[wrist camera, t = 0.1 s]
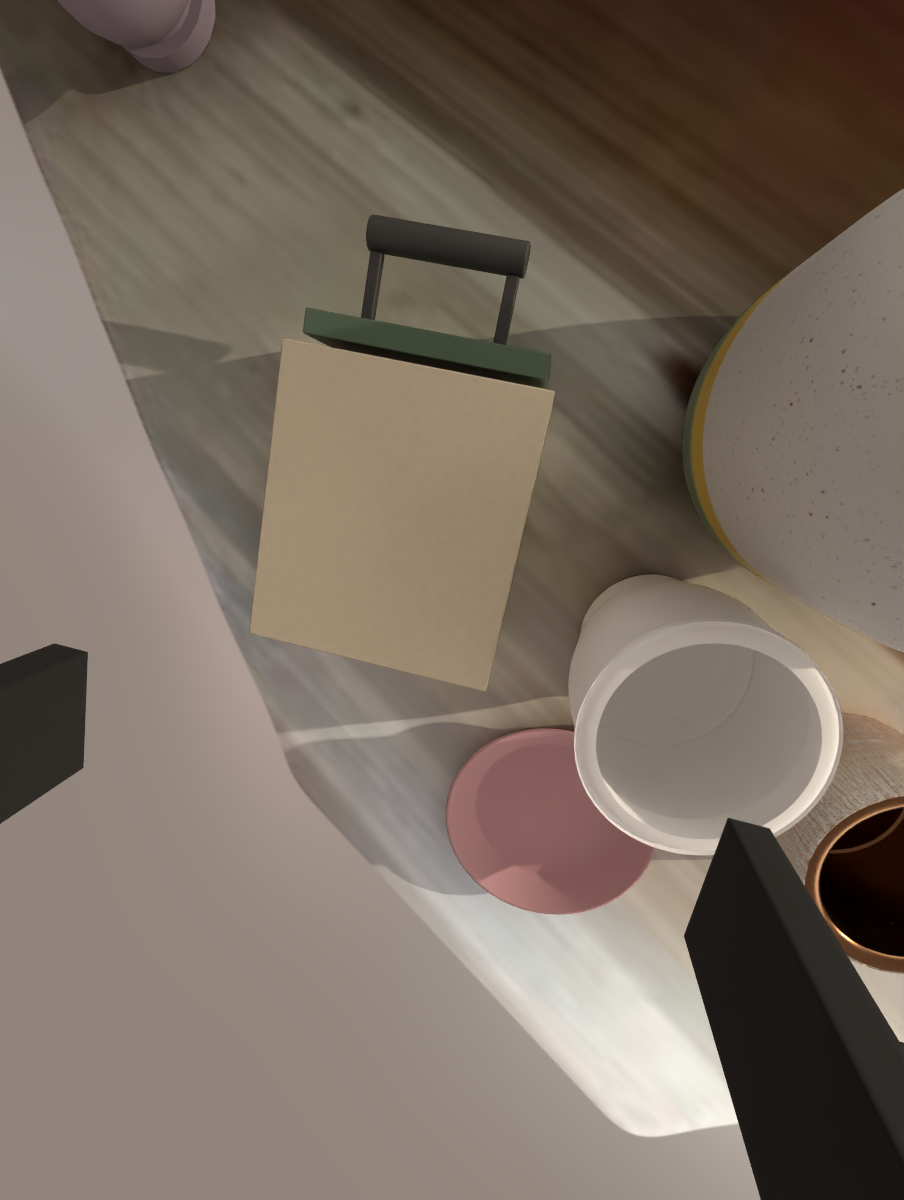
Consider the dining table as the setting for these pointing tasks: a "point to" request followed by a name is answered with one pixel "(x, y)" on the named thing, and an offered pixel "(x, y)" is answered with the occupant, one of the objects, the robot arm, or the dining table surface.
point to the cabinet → (395, 510)
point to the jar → (696, 716)
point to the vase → (813, 431)
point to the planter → (858, 846)
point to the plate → (538, 827)
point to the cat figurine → (150, 28)
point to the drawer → (431, 345)
